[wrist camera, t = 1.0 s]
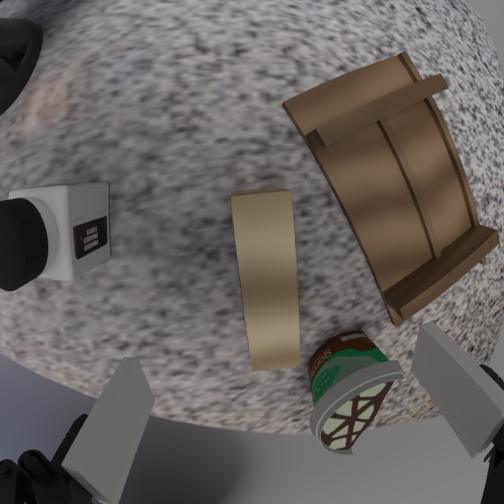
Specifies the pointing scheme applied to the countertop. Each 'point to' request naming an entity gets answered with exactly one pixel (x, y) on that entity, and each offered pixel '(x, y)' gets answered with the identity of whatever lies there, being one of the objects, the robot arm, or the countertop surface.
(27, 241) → the container
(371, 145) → the wooden slatted panel
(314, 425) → the food container
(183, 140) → the countertop surface
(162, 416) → the countertop surface
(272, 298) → the tan rectangular block
